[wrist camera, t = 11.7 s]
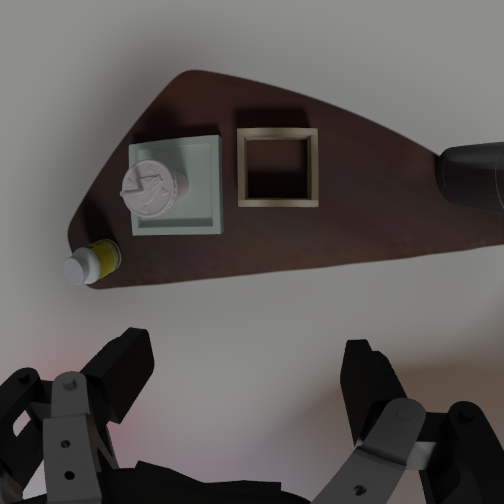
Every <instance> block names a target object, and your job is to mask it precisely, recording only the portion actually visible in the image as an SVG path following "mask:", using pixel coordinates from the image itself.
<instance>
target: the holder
mask: <svg viewBox="0 0 504 504" xmlns="http://www.w3.org/2000/svg"><path fill="white" fill-rule="evenodd" d="M247 140H307V198H248V151H247ZM237 155H238V207H318V133H317V129H313V128H241V129H237Z"/></svg>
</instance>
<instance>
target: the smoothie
mask: <svg viewBox="0 0 504 504" xmlns="http://www.w3.org/2000/svg"><path fill="white" fill-rule="evenodd" d="M188 190H189V182H188V179H187V178H186V177H185V176H184V175H183V174H181V173H179V172H177V171H175V170H173V169H171V168H170V167H169V166H168V165H167V164H166V163H164V162H163V161H160V160H157V159H144V160H141V161H138V162H137V163H135V164H134V165H132V166H131V167H130V168H129V170H128V171H127V173H126V175H125V177H124V180H123V184H122V191H121V192H120V195H121V196H122V197H123V199H124V201H125V204H126V205H127V207H128V208H129V209H130V210H131V211H132V212H133V213H134V214H136V215H138V216H140V217H145V218H150V217H156V216H159V215H161V214H163V213H165V212H166V211H167V210H168V209H169V208H170V207H171V205H172V204H173V203H175V202H176V201H178V200H180V199H181V198H183V197H184V196H185V195H186V194H187V192H188Z"/></svg>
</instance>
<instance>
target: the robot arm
mask: <svg viewBox="0 0 504 504" xmlns="http://www.w3.org/2000/svg"><path fill="white" fill-rule="evenodd" d="M436 178H437V183H438V186H439V189H440V191H441V193H442V194H443V196H444V197H445V198H446V199H447V200H448V201H449V202H451V203H453V204H457V205H462V206H467V207H471V208H476V209H481V210H486V211H490V212H494V213H499V214H503V215H504V142H497V143H496V142H495V143H485V144H476V145H467V146H458V147H451V148H448V149H446V150H445V151H444V152H443V153H442V154H441V155H440V157H439V159H438V162H437V166H436ZM153 370H154V357H153V352H152V347H151V342H150V337H149V333H148V331H147V330H146V329H138V328H132V327H130V328H128V329H127V330H126V331H125V332H124V333H123V334H122V335H121V336H120V337H117V338H115V339H113V340H112V341H109V342H108V343H107V344H106V345H105V346H104V347H103V348H102V350H100V351H99V352H98V353H97V355H95V356H94V357H93V358H92V359H91V360H90V362H89V363H87V364H86V366H85V367H84V368H83V369H82V370H81V371H80V372H74V371H70V372H65V373H62V374H60V375H59V376H57V377H56V378H55V380H54V381H46V380H41V379H40V377H39V375H38V372H37V371H36V370H35V369H33V368H22V369H19V370H17V371H16V372H14V373H13V374H12V375H11V376H10V377H9V378H8V379H7V380H6V381H5V382H4V383H3V384H2V385H1V386H0V504H386V503H387V501H388V499H389V498H390V496H391V494H392V493H393V491H394V489H395V487H396V486H397V484H398V482H399V480H400V478H401V476H402V474H403V472H404V470H405V469H406V470H418V471H419V474H420V478H421V482H422V486H423V490H424V495H425V499H426V504H504V450H503V448H502V446H501V444H500V442H499V440H498V439H497V437H496V435H495V433H494V431H493V429H492V427H491V426H490V424H489V422H488V420H487V419H486V417H485V415H484V413H483V412H482V410H481V409H480V408H479V407H478V406H477V405H476V404H474V403H472V402H468V401H460V402H457V403H454V404H453V405H452V406H451V407H450V409H449V411H448V413H431V412H426V411H425V409H424V407H423V406H422V405H421V404H420V403H419V402H417V401H415V400H413V399H409V398H407V396H406V394H405V392H404V390H403V387H402V386H401V383H400V382H399V380H398V378H397V376H396V375H395V372H394V370H393V368H392V366H391V364H390V362H389V360H388V359H387V357H386V356H384V355H383V354H382V353H381V352H379V351H372V349H371V347H370V345H369V343H368V341H367V340H366V339H362V340H348V341H347V343H346V347H345V353H344V358H343V364H342V369H341V374H340V384H341V389H342V393H343V397H344V401H345V405H346V410H347V415H348V419H349V423H350V428H351V433H352V438H353V441H354V447H357V448H356V449H355V450H354V451H353V453H352V454H351V455H350V457H349V458H348V459H347V461H346V462H345V463H344V465H343V466H342V467H341V468H340V470H339V471H338V472H337V473H336V475H335V476H334V477H333V478H332V479H331V481H330V482H329V483H328V484H327V485H326V486H325V488H324V489H323V490H322V491H321V492H320V493H319V494H318V496H317V497H316V498H315V499H314V500H313V501H312V502H310V501H309V500H307V499H305V498H303V497H300V496H298V495H295V494H292V493H289V492H285V491H281V482H263V481H247V480H241V481H230V482H215V483H203V482H200V481H197V480H195V479H192V478H190V477H188V476H185V475H183V474H181V473H179V472H176V471H174V470H172V469H170V468H165V467H161V466H157V465H153V464H150V463H146V462H143V461H138V462H137V464H136V466H135V468H121V469H120V468H119V466H118V463H117V461H116V457H115V453H114V450H113V446H112V442H111V438H110V435H109V430H108V428H107V426H106V424H107V423H108V422H109V421H112V422H114V423H118V424H120V423H121V422H122V420H123V418H124V417H125V415H126V414H127V412H128V411H129V409H130V407H131V406H132V404H133V403H134V401H135V400H136V398H137V397H138V395H139V393H140V392H141V390H142V389H143V387H144V386H145V384H146V382H147V381H148V379H149V378H150V376H151V375H152V373H153ZM24 410H26V412H27V414H28V415H29V417H30V419H31V420H30V421H29V422H28V423H27V425H26V426H25V427H24V428H23V430H22V431H21V432H20V433H19V435H18V436H17V437H16V435H15V434H14V432H13V424H14V422H15V421H16V420H17V418H18V417H19V416H20V415H21V414H22V412H23V411H24ZM43 459H44V469H45V470H44V471H45V481H46V489H47V493H46V494H43V495H39V496H36V497H32V498H29V499H25V500H24V499H23V498H22V497H23V491H24V489H25V487H26V486H27V484H28V483H29V481H30V479H31V478H32V476H33V475H34V473H35V471H36V470H37V468H38V467H39V465H40V464H41V462H42V460H43Z"/></svg>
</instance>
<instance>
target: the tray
mask: <svg viewBox="0 0 504 504" xmlns="http://www.w3.org/2000/svg"><path fill="white" fill-rule="evenodd" d="M144 159H157V160H160V161H163V162H164V163H166V164H167V165H168V166H169V167H170V168H171V169H173V170H175V171H177V172H179V173H181V174H183V175H184V176H185V177H186V178H187V179H188V182H189V190H188V192H187V194H186V195H185V196H184V197H183V198H181V199H180V200H178V201H176V202H175V203H173V204H172V205H171V207H170V208H169V209H168V210H167V211H166V212H165V213H163V214H161V215H159V216H156V217H150V218H145V217H140V216H138V215H136V214H134V213H133V212H132V211H131V218H132V231H133V235H171V234H221V233H222V232H223V231H224V224H223V187H222V138H221V137H220V136H219V135H210V136H198V137H187V138H177V139H168V140H160V141H153V142H146V143H139V144H132V145H129V168H130V167H131V166H132V165H134V164H135V163H137V162H138V161H141V160H144Z"/></svg>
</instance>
